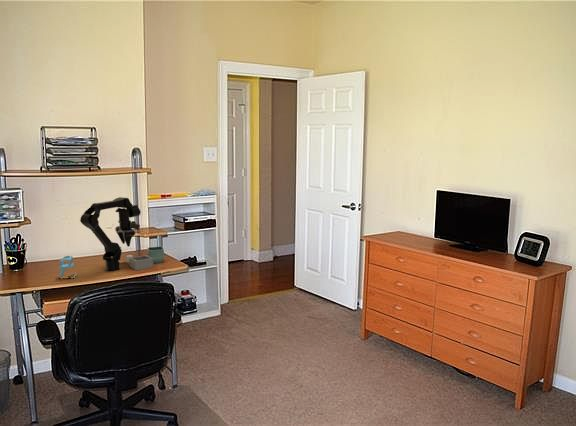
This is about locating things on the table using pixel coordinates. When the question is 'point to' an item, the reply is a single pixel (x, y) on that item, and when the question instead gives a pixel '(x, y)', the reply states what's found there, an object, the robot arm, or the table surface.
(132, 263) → the storage box
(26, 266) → the table surface
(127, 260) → the lid
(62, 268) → the chair
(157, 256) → the flower pot
